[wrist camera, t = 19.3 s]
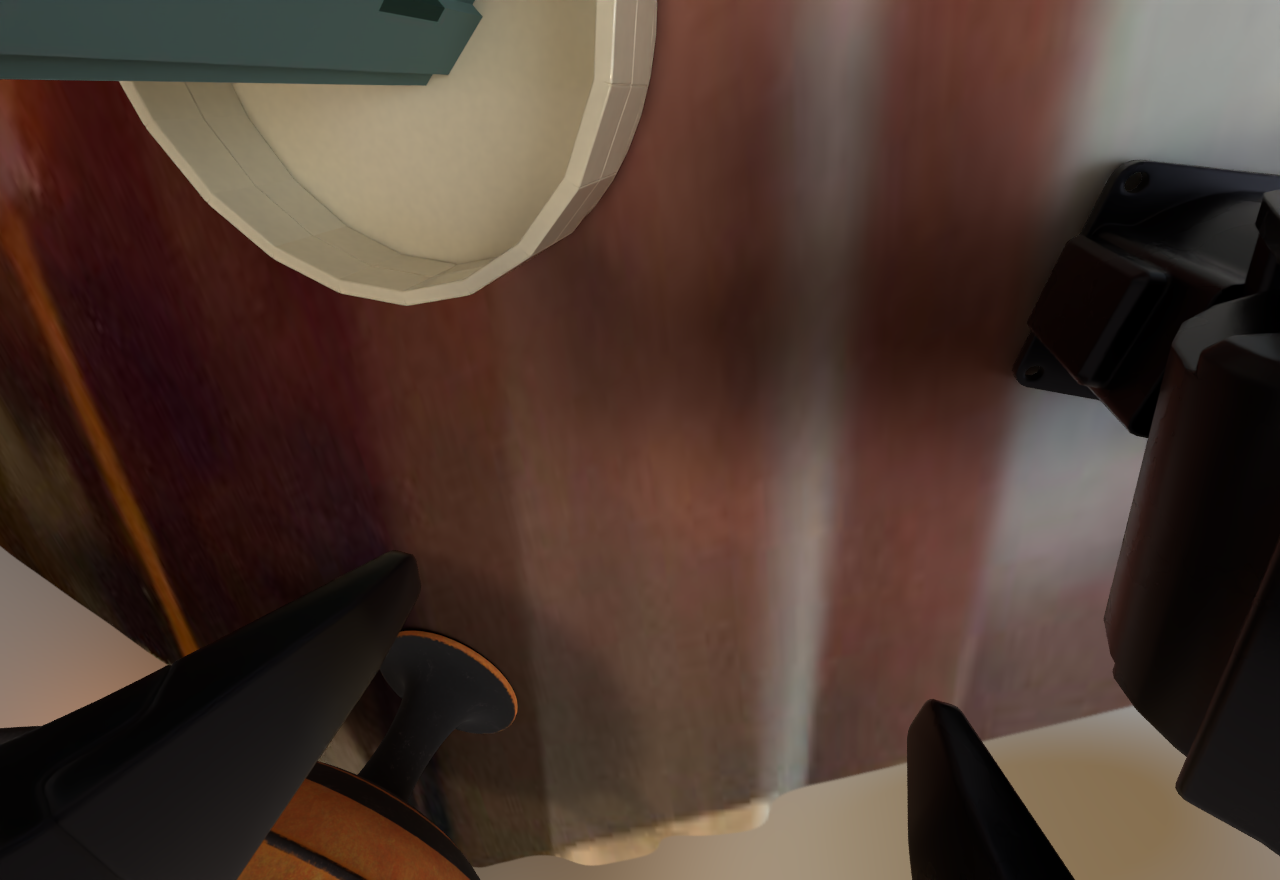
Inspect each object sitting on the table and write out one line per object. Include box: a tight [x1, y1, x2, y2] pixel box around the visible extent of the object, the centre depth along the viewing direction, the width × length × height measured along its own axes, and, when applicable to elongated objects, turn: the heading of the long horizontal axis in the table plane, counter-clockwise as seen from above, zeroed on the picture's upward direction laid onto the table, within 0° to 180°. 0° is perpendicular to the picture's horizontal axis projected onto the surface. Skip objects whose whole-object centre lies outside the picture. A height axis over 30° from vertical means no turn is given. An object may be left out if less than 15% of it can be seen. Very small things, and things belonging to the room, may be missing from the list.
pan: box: [119, 0, 657, 306], centre depth 16 cm, size 16×16×4 cm
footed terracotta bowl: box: [0, 631, 518, 880], centre depth 31 cm, size 36×26×18 cm
